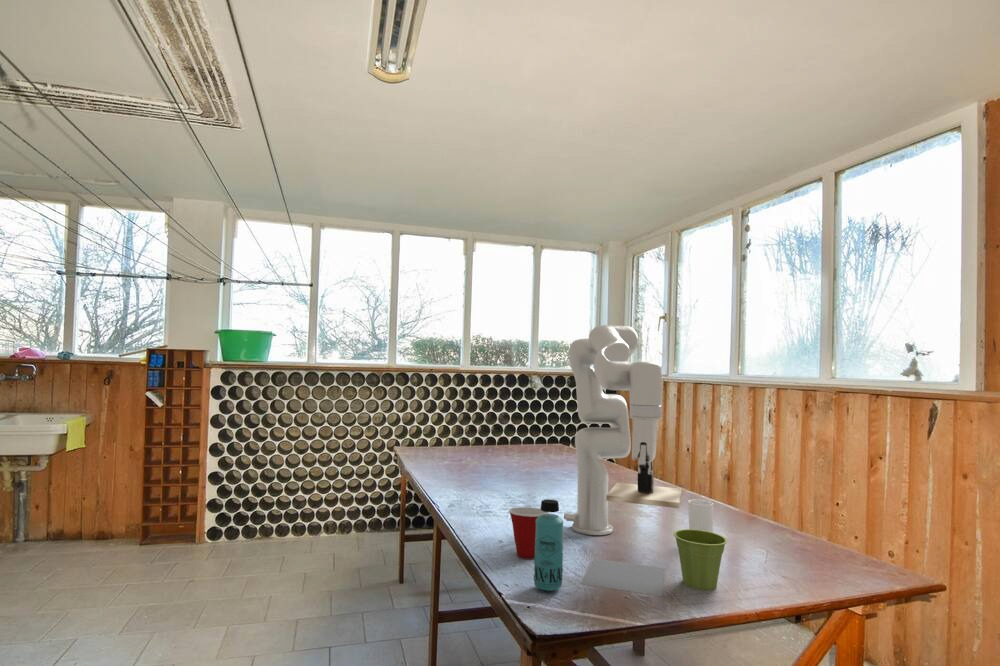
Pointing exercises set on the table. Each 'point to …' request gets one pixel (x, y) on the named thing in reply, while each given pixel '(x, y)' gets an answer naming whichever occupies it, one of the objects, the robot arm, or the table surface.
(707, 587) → the plant pot
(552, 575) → the beverage bottle
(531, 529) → the plastic cup
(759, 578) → the table surface
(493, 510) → the table surface
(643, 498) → the lid
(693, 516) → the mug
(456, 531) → the table surface
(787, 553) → the table surface
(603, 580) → the mat
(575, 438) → the robot arm
